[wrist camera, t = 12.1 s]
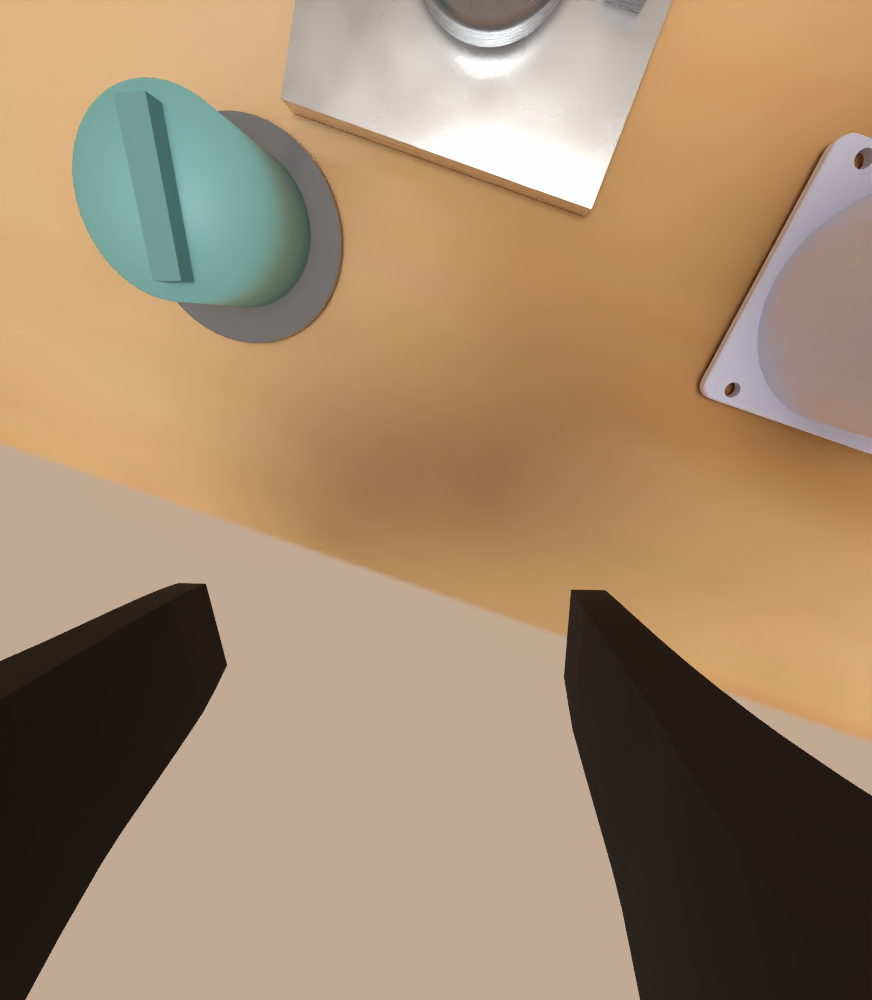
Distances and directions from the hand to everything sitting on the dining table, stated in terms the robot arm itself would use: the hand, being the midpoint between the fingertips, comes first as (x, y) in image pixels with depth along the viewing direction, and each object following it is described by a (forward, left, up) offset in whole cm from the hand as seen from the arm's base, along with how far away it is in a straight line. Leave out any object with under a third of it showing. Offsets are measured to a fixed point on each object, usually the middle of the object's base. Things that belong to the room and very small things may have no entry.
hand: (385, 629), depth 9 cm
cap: (+9, -6, -10) cm, 15 cm away
